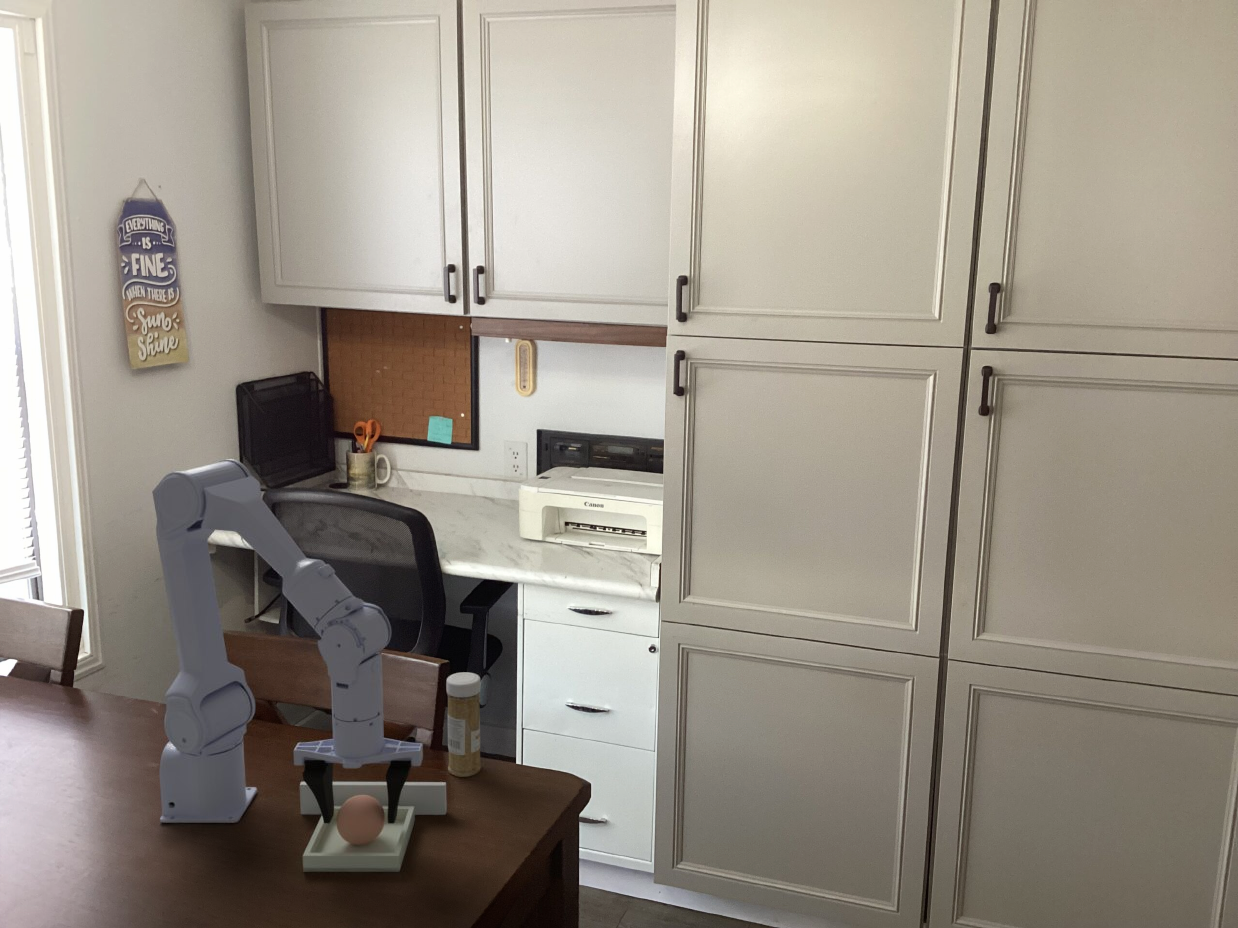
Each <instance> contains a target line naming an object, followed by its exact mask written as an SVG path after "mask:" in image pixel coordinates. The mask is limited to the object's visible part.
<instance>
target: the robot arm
mask: <svg viewBox="0 0 1238 928" xmlns="http://www.w3.org/2000/svg"><path fill="white" fill-rule="evenodd" d="M261 493H262V491H261V483H260V481H259V480H257V478H255V476H253V475H252V474H251V472H250V470H249V469H248V468H247V467H246V465H244V464H243V463H242V462H241V461H239V460H238V459H232V458H228V459H223V460H220V461H219V462H215V463H211V464H207V465H203V466H202V465H201V466H199V467H198V466H197V467H194V468H190V469H186V470H181V471H180V470H177V471H171V472H168V473H167V474H166V475H165V476H164V477H163V478H161V480H160V481H159V482H158V484H157V485H156V486H155V487H154V489H153V490H152V493H151V494H152V498H153V504H154V509H155V516H156V525H155V526H156V527H155V531H156V538H157V539H156V540H157V541H156V542H157V545H158V551H159V558H160V561H161V562H160V563H161V568H162V574H163V580H164V586H165V591H166V596H167V597H166V598H167V603H168V608H169V613H170V620H171V624H172V631H173V638H174V642H175V647H176V654H177V659H178V665H179V673H178V674H177V676H176V678H175V679H174V680H173V682H172V684H171V686H170V687H169V688H168V689H167V692H166V693H165V696H164V697H165V699H164V700H165V704H166V706H165V707H166V711H165V714H164V715H165V716H164V720H163V724H164V725H163V726H164V731H165V735H166V736H167V739H168V740H169V741H168V742H167V743H166V744H165V746H164V748H163V750H162V754H161V758H160V762H159V763H160V764H159V785H160V798H161V799H160V801H161V816H160V818H159V822H160V823H165V824H166V823H168V824H169V823H177V824H178V823H179V824H180V823H187V824H188V823H193V824H194V823H197V824H198V823H199V824H200V823H201V824H202V823H205V824H206V823H208V824H210V823H211V824H213V823H214V824H215V823H218V824H220V823H221V824H223V823H224V824H226V823H227V824H229V823H230V824H231V823H232V824H235V823H238V822H239V821H240V820H241V818H242V816H243V814H244V813H245V812H246V811H247V808H248V807H249V805H250V803H251V802H252V800H253V798H254V797H255V795H256V794H257V792H258V789H257V787H255V786H252V787H251V786H247V785H246V769H245V748H244V746H245V745H244V735H245V734H246V733H247V731H248V730H247V724H248V723H249V722H251V721H252V719H253V717H254V715H255V713H256V699H255V697H254V695H253V694H254V693H252V691H251V689H250V687H249V685H248V683H247V681H246V675H245V670H244V669H242V667H241V668H240V667H239V666H237V665H234V664H232V663H230V662H229V661H228V656H227V651H226V650H227V649H226V645H225V639H224V632H223V626H222V620H221V614H220V609H219V608H220V607H219V602H218V601H219V600H218V597H217V596H218V595H217V591H216V584H215V579H214V572H213V565H212V561H211V555H210V548H209V544H208V540H209V538H210V537H211V535H212V534H214V532H215V531H226V532H227V531H228V532H235V533H236V534H237V535H238V536H240V538H242V539H243V541H245V542H246V543H247V544H248V545H249V546H250V547H251V548H252V549H253V550H254V551H255V552H256V553H257V555H259V556H260V557H261V558H262V559H263V560H264V561H265V562H266V563H267V564H268V565H269V566H270V567H272V569H273V570H274V571H275V572H276V573H277V574H279V576H281V578H282V588H281V590H282V594H283V596H284V597H285V598H286V599H287V601H289V602H290V604H291V605H292V606H293V607H294V609H296V610H297V612H298V613H299V614H300V616H302V618H304V619H305V621H306V622H307V623H308V624H309V625H310V626H311V627H312V628H313V630H314V631H315V633H316V634H318V636H319V637H320V639H318V640H317V648H318V651H319V653H320V654H321V657H322V658H323V660H324V662H325V663H326V665H327V676H328V677H329V679H330V681H331V682H330V685H331V686H330V687H331V715H332V716H331V717H332V718H331V719H332V720H331V721H332V723H331V725H332V738H330V739H323V740H316V741H309V742H298V743H297V744H296V746H295V747H294V749H293V765H294V766H304V767H303V768H304V770H303V772H302V779H303V782H305V783H306V784H307V785H308V786H309V788H310V789H311V791H312V792H313V794H314V796H315V798H316V800H317V802H318V805H319V807H320V810H321V813H322V814H321V816H322V817H323V821H324V823H330V822H331V819H332V817H333V815H334V798H333V782H334V781H333V778H334V776H333V775H334V764H341V765H342V768H343V769H359V768H361V767H362V765H367V764H389V766H388V768H387V770H386V773H385V782H386V783H387V791H388V823H390V824H393V823H395V820H396V817H397V810H398V803H399V798H400V794H401V791H402V788H403V786H404V784H405V782H407V779H408V777H409V774H410V771H411V769H412V767H420V766H421V765H422V762H423V759H424V751H423V750H424V748H423V747H424V745H423V743H422V742H421V743H419V742H409V741H403V740H397V739H393V738H388V737H387V738H386V737H384V734H385V733H384V732H385V731H384V695H383V694H384V691H383V655H382V653H383V652H381V651H382V650H384V649H385V648H386V647H387V646H388V645H389V643H390V640H391V638H392V626H391V623H390V621H389V618H388V616H387V615H386V614H385V613H384V610H383V609H382V608H381V607H380V606H378V605H376V604H374V603H370V602H366V601H364V600H363V599H362V598H359V597H356V596H355V595H354V594H353V593H352V592H351V591H350V590H349V588H348V587H347V586H346V585H345V584H344V583H343V582H342V580H341V579H339V577H338V576H337V575H336V570H335V569H334V568H333V567H332V566H331V565H330V564H329V563H327V564H326V563H325V562H324V561H323V560H322V559H316V558H309V557H306V555H305V554H304V552H303V551H302V550H301V548H300V547H299V546H298V545H297V543H296V542H295V541H294V539H293V538H292V537H291V536H290V534H289V532H287V530H286V528H285V527H283V525H282V523H281V522H280V521H279V519H277V517H276V516H275V514H274V513H273V512H272V511H271V509H270V508H269V507H268V505H267V504H266V502H265V501H264V500H263V498H262V497H261V496H262V494H261Z"/></svg>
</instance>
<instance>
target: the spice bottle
mask: <svg viewBox="0 0 1238 928" xmlns="http://www.w3.org/2000/svg"><path fill="white" fill-rule="evenodd" d="M481 683H482V682H481V677H480V675H478V674H477V673H474V672H468V671H467V672H464V671H463V672H456V673H453V674H450V675H448V677H447V678H446V683H445V684H446V685H445V686H446V689H445V690H446V694H447V748H448V766H447V770H448V772H449V773H450V774H452V775H453V776H455V777H461V778H465V777H471V776H474V775H476V774H478V773H479V772H480V771H481V768H482V765H481V714H480V693H481V691H482V689H481V687H482V686H481V685H482V684H481Z"/></svg>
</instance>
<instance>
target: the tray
mask: <svg viewBox="0 0 1238 928" xmlns="http://www.w3.org/2000/svg"><path fill="white" fill-rule="evenodd" d="M382 807H383V809H384V812H385V824H384V827H383V829H382V831H381V833H380V834H379V836H378V837H377V838H376V839H374V840H373V841H371V842H369V843H367V844H363V845H354V844H351V843H349V842H347V841H345V840H344V839H343V838H342V837H341V835H340V834H339V832H338V829H337V825H336V819H337V814H338V811H339V809H340V808H341V806H334V815H333V817H332V819H331V822H330V823H324V821H323V817H322V815H321V816H320V818H319V820H318V823H317V825H316V827H315V829H314V831H313V833H312V835H311V837H310V840H309V841H308V844H307V846H306V848H305V850H304V852H303V854H302V871H303V872H304V873H309V872H311V873H312V872H313V873H315V872H316V873H320V872H321V873H328V872H329V873H333V872H335V873H339V872H340V873H364V872H365V873H381V872H382V873H387V872H388V873H400V870H401V867H402V865H403V861H404V857H405V855H406V851H407V847H408V844H409V841H410V838H411V834H412V831H413V828H414V825H415V821H416V817H415V816H416V815H415V806H398V810H397V817H396V820H395V823H393V824H390V823H388V806H382Z"/></svg>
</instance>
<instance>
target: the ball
mask: <svg viewBox="0 0 1238 928" xmlns="http://www.w3.org/2000/svg"><path fill="white" fill-rule="evenodd" d="M384 824H385V812H384V809H383V807H382V805H381V803H380V802H379V801H378V800H376V799H375V798H373V797H371V796H368V795H357V796H354V797H351V798H350V799H348V800H347V801H346V802H345V803H344V804H343V805H342V806H341V808H340V809H339V811H338V814H337V819H336V825H337V829H338V832H339V834H340V835H341V837H342V838H343V839H344V840H345V841H347V842H349V843H351V844H354V845H363V844H367V843H369V842H371V841H373V840H374V839H376V838H377V837H378V836H379V834H380V833H381V831H382V829H383V827H384Z"/></svg>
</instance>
